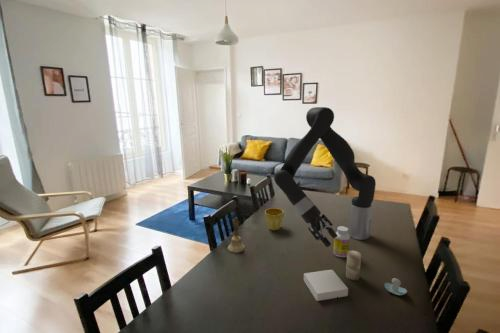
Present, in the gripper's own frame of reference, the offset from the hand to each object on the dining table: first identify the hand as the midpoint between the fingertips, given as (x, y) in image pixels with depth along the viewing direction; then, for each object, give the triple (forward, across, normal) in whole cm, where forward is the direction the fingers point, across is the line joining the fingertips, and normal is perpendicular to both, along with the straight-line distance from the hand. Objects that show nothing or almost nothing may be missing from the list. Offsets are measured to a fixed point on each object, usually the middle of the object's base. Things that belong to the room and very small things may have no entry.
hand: (332, 241), depth 114 cm
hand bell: (-22, -7, +40) cm, 46 cm away
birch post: (+15, 0, +3) cm, 16 cm away
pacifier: (+27, -1, -8) cm, 28 cm away
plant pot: (-18, +22, +37) cm, 46 cm away
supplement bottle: (+9, +14, +9) cm, 19 cm away
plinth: (+10, -13, +8) cm, 18 cm away
